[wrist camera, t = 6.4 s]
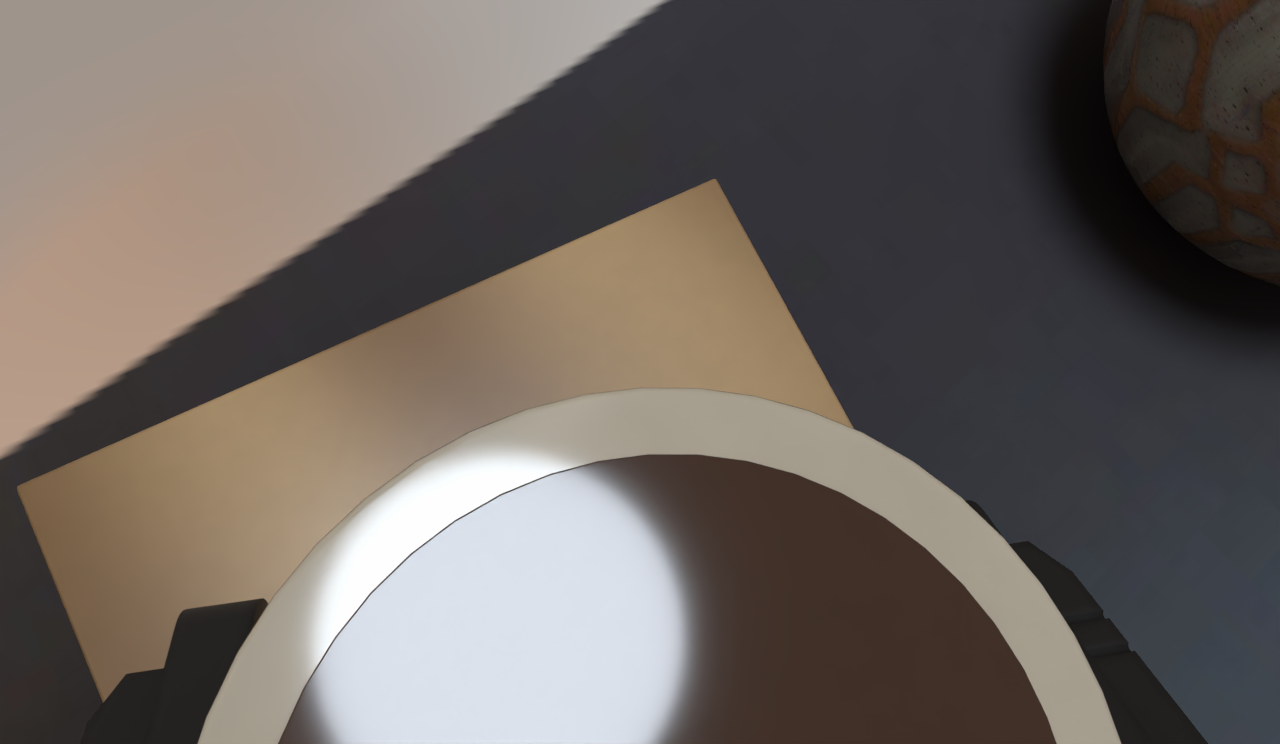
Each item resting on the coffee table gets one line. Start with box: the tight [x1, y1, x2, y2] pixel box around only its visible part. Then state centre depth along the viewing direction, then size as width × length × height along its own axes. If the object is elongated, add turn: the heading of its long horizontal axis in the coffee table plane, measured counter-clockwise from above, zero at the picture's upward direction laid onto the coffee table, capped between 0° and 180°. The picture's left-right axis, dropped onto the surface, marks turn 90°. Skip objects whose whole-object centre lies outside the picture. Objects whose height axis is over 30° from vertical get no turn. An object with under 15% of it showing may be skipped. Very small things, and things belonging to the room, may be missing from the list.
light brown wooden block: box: [17, 179, 854, 703], centre depth 20 cm, size 12×14×9 cm
